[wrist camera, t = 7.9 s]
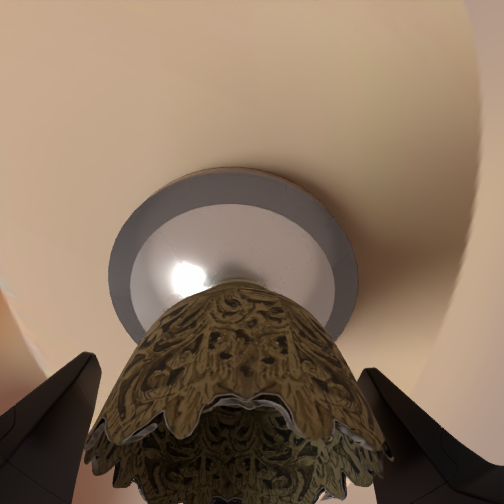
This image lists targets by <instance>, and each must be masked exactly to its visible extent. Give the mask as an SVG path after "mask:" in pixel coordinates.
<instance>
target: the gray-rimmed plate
mask: <svg viewBox="0 0 504 504" xmlns="http://www.w3.org/2000/svg"><path fill="white" fill-rule="evenodd" d="M230 279H246V280H251V281H254V282H257V283H259V284H261V285H263V286H265V287H266V288H268V289H269V290H270V291H273V292H276V293H278V294H281V295H283V296H285V297H287V298H289V299H291V300H293V301H294V302H296V303H298V304H299V305H300V306H302V307H303V308H305V309H306V310H307V311H308V312H310V313H311V314H312V315H313V316H314V317H315V318H316V319H317V321H318V322H319V323H320V324H321V325H322V326H323V327H324V328H325V330H326V331H327V333H328V334H329V336H330V337H331V338H332V340H333V341H334V342H335V341H336V340H337V338H338V337H339V336H340V334H341V333H342V332H343V330H344V328H345V327H346V325H347V323H348V321H349V319H350V317H351V314H352V312H353V309H354V306H355V302H356V298H357V292H358V268H357V263H356V259H355V254H354V251H353V249H352V246H351V244H350V241H349V239H348V237H347V236H346V234H345V232H344V231H343V229H342V227H341V226H340V224H339V223H338V222H337V221H336V220H335V218H334V217H333V216H332V215H331V214H330V213H329V211H328V210H327V209H326V208H325V207H324V206H323V204H322V203H321V202H320V201H318V200H317V199H316V198H315V197H314V196H313V195H311V194H310V193H309V192H308V191H306V190H305V189H303V188H302V187H300V186H298V185H297V184H295V183H294V182H291V181H289V180H287V179H285V178H283V177H280V176H278V175H275V174H272V173H268V172H265V171H261V170H256V169H249V168H242V167H221V168H214V169H207V170H201V171H198V172H195V173H191V174H188V175H185V176H183V177H181V178H178V179H176V180H174V181H172V182H170V183H168V184H167V185H165V186H164V187H162V188H161V189H159V190H158V191H156V192H155V193H154V194H153V195H152V196H150V197H149V198H148V199H147V200H146V201H145V202H144V203H143V204H142V205H141V206H139V207H138V208H137V209H136V210H135V211H134V212H133V213H132V215H131V216H130V217H129V219H128V220H127V221H126V222H125V224H124V225H123V227H122V229H121V230H120V232H119V234H118V236H117V238H116V240H115V243H114V246H113V249H112V252H111V256H110V261H109V269H108V282H109V290H110V296H111V299H112V303H113V306H114V309H115V311H116V313H117V316H118V318H119V320H120V322H121V323H122V325H123V327H124V328H125V330H126V331H127V333H128V334H129V335H130V336H131V338H132V339H133V340H134V341H135V342H136V343H137V344H139V343H140V341H141V340H142V338H143V337H144V336H145V334H146V333H147V332H148V330H149V329H150V328H151V326H152V325H153V324H154V323H155V322H156V321H157V320H158V318H159V317H160V316H161V315H162V314H163V313H164V312H165V311H167V310H168V309H169V308H170V307H172V306H173V305H175V304H176V303H178V302H179V301H181V300H183V299H184V298H186V297H188V296H190V295H192V294H195V293H197V292H200V291H204V290H207V289H209V288H210V287H212V286H214V285H215V284H217V283H220V282H222V281H225V280H230Z"/></svg>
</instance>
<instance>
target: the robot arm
mask: <svg viewBox="0 0 504 504" xmlns="http://www.w3.org/2000/svg"><path fill="white" fill-rule="evenodd" d="M101 374H102V371H101V367H100V365H99V362H98V360H97V357H96V355H95V354H94V353H90V352H82V353H81V354H80V355H78V356H77V357H76V358H74V359H73V360H72V361H70V362H69V363H68V364H66V365H65V366H64V367H63V368H61V369H60V370H59V371H57V372H56V373H55V374H53V375H52V376H51V377H50V378H48V379H47V380H46V381H44V382H43V383H42V384H41V385H39V386H38V387H37V388H36V389H34V390H33V391H32V392H30V393H29V394H28V395H27V396H25V397H24V398H23V399H22V400H20V401H19V402H18V403H16V405H14V406H13V407H11V408H10V409H9V410H8V411H6V412H5V413H4V414H2V415H1V416H0V504H71V503H72V498H73V493H74V488H75V483H76V478H77V474H78V470H79V465H80V461H81V457H82V453H83V449H84V444H85V440H86V436H87V434H88V431H89V427H90V424H91V421H92V417H93V414H94V409H95V404H96V399H97V394H98V389H99V384H100V379H101ZM357 383H358V385H359V387H360V389H361V391H362V393H363V395H364V397H365V399H366V401H367V403H368V405H369V407H370V409H371V411H372V413H373V415H374V417H375V419H376V421H377V423H378V425H379V427H380V429H381V431H382V432H383V434H384V436H385V438H386V440H387V442H388V444H389V446H390V448H391V451H392V453H393V457H394V461H393V462H391V461H390V460H389V459H388V458H387V456H386V455H385V453H384V455H383V462H384V478H383V479H381V478H380V477H379V476H378V475H377V474H376V473H375V472H374V473H375V477H374V479H373V484H374V489H375V494H376V500H377V504H504V466H499V465H495V464H492V463H489V462H488V461H486V460H484V459H483V458H482V457H480V456H479V455H477V454H476V453H474V452H473V451H471V450H470V449H469V448H467V447H466V446H465V445H463V444H462V443H461V442H459V441H458V440H457V439H455V438H454V437H453V436H452V435H451V434H449V433H448V432H447V431H446V430H445V429H444V428H442V427H441V426H440V425H439V424H438V423H437V422H436V421H435V420H433V418H431V417H430V416H429V415H428V414H427V413H426V412H425V411H424V410H422V409H421V408H420V407H419V406H418V405H417V404H416V403H415V402H413V401H412V400H411V399H410V398H409V397H408V396H407V395H406V394H405V393H404V392H402V391H401V390H400V389H399V388H398V387H397V386H396V385H395V384H393V383H392V382H391V381H390V380H389V379H388V378H387V377H386V376H385V375H383V374H382V373H381V372H380V371H379V370H378V369H377V368H374V367H373V368H365V369H364V370H363V371H362V373H361V375H360V377H359V379H358V381H357ZM382 447H383V450H384V451H385V450H386V451H387V449H388V448H387V447H386V446H385V445H384V444H382ZM212 500H216V501H215V502H214V504H244V502H243V500H242V499H236V498H234V499H232V500H230V501H228V502H229V503H226V501H225V500H223V499H222V498H220V497H213V498H212V499H211V501H212ZM211 501H210V502H211ZM231 501H232V502H231ZM234 501H236V502H234ZM210 502H209V504H210Z"/></svg>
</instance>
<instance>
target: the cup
mask: <svg viewBox="0 0 504 504" xmlns="http://www.w3.org/2000/svg"><path fill="white" fill-rule="evenodd" d="M382 444H384V445H385V446H386V447H387V448H388V449H387V451H386V450H385V451H384V450H383V447H382ZM84 450H85V451H86V453H85V457H84V463H85V464H88V463H89V462H90V461H91V460H92V472H93V474H94V475H95V476H99V475H102V474H105V473H107V472H108V471H109V470H110V469H111V468H112V467H113V466H114V465H115V470H114V476H113V483H112V484H113V487H114V488H127V487H128V486H130V484H131V483H132V482H135V483H136V484H137V485H138V489H139V492H140V494H141V496H142V497H143V499H144V500H145V501H146V502H147V503H148V504H178V503H183V504H209V502H210V501H211V499H212V498H213V497H220V498H222V499H223V500H225V501H226V503H229V502H228V501H230V500H232V499H234V498H236V499H242V500H243V502H244V504H315V503H316V501H317V500H318V499H319V496H320V495H321V494H322V493H323V492H324V491H325V490H326V492H325V494H326V493H328V494H329V496H327V497H332V496H333V497H332V498H338V499H340V500H344V499H345V498H346V496H347V487H346V476H347V477H348V478H349V480H350V481H351V482H353V483H354V484H355V485H356V486H361V487H369V486H370V485H371V484H372V482H373V479H374V477H375V473H376V474H377V475H378V476H379V477H380V478H381V479H383V478H384V462H383V455H384V453H385V455H386V456H387V458H388V459H389V460H390V461H391V462H393V461H394V457H393V453H392V451H391V448H390V446H389V444H388V442H387V440H386V438H385V436H384V434H383V432H382V431H381V429H380V427H379V425H378V423H377V421H376V419H375V417H374V415H373V413H372V411H371V409H370V407H369V405H368V403H367V401H366V399H365V397H364V395H363V393H362V391H361V389H360V387H359V385H358V383H357V381H356V380H355V378H354V376H353V374H352V372H351V370H350V368H349V367H348V365H347V363H346V361H345V359H344V358H343V356H342V354H341V353H340V351H339V349H338V348H337V346H336V344H335V343H334V341H333V340H332V338H331V337H330V336H329V334H328V333H327V331H326V330H325V328H324V327H323V326H322V325H321V324H320V323H319V322H318V321H317V319H316V318H315V317H314V316H313V315H312V314H311V313H310V312H308V311H307V310H306V309H305V308H303V307H302V306H300V305H299V304H298V303H296V302H294V301H293V300H291V299H289V298H287V297H285V296H283V295H281V294H278V293H276V292H273V291H270V290H269V289H268V288H266V287H265V286H263V285H261V284H259V283H257V282H254V281H251V280H246V279H230V280H225V281H222V282H220V283H217V284H215V285H214V286H212V287H210V288H209V289H207V290H204V291H200V292H197V293H195V294H192V295H190V296H188V297H186V298H184V299H183V300H181V301H179V302H178V303H176V304H175V305H173V306H172V307H170V308H169V309H168V310H167V311H165V312H164V313H163V314H162V315H161V316H160V317H159V318H158V320H157V321H156V322H155V323H154V324H153V325H152V326H151V328H150V329H149V330H148V332H147V333H146V334H145V336H144V337H143V338H142V340H141V341H140V343H139V344H138V346H137V347H136V349H135V351H134V352H133V354H132V356H131V357H130V359H129V361H128V362H127V364H126V366H125V368H124V369H123V371H122V373H121V375H120V377H119V378H118V380H117V382H116V384H115V386H114V388H113V389H112V391H111V393H110V395H109V397H108V399H107V401H106V403H105V405H104V407H103V409H102V410H101V412H100V414H99V416H98V418H97V420H96V422H95V424H94V426H93V428H92V429H91V431H90V433H89V434H88V435H87V436H86V440H85V444H84ZM374 472H375V473H374ZM133 479H134V480H133ZM131 481H132V482H131ZM215 501H216V500H212V501H211V502H210V504H214V502H215ZM231 502H232V501H231ZM234 502H236V501H234Z"/></svg>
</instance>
